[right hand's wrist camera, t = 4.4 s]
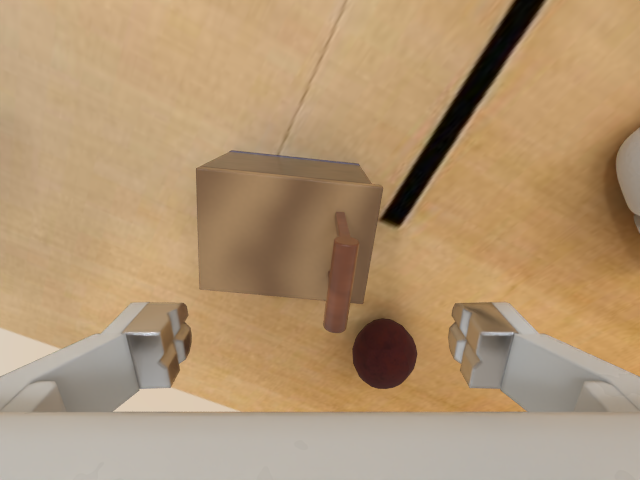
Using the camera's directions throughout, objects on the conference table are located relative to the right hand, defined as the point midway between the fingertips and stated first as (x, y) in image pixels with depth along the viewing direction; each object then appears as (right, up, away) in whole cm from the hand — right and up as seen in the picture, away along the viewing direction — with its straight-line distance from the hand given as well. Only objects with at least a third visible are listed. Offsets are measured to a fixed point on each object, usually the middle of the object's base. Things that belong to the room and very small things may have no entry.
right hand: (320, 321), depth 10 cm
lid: (-3, +3, +17) cm, 17 cm away
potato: (+7, -9, +32) cm, 34 cm away
